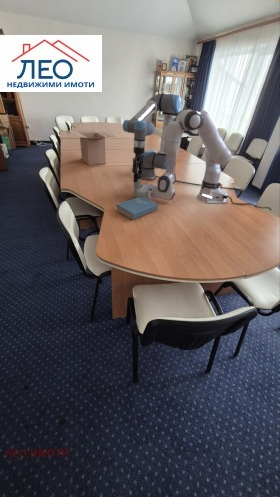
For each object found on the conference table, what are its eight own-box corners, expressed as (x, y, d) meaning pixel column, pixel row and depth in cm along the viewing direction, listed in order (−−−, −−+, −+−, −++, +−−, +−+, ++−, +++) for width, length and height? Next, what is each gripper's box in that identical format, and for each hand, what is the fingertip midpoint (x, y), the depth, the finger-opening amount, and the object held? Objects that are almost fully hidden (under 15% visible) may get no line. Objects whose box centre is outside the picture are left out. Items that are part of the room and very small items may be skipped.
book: (140, 202, 160) (141, 196, 157) (157, 210, 151) (157, 203, 148) (116, 211, 147) (116, 204, 144) (132, 220, 138) (133, 213, 135)
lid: (133, 179, 159) (134, 175, 157) (132, 176, 163) (133, 173, 162) (142, 179, 160) (142, 175, 158) (141, 176, 164) (141, 173, 163)
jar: (133, 197, 167) (134, 176, 158) (132, 194, 171) (133, 173, 162) (140, 197, 168) (141, 176, 159) (139, 194, 172) (140, 173, 163)
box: (116, 165, 229) (116, 136, 213) (83, 168, 214) (80, 137, 198) (102, 154, 259) (101, 128, 243) (71, 156, 244) (68, 129, 228)
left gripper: (140, 143, 157) (138, 176, 171) (127, 148, 143) (126, 183, 157) (149, 145, 155) (147, 178, 169) (138, 150, 141) (136, 185, 155)
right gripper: (158, 182, 168) (141, 179, 172) (148, 191, 153) (130, 187, 157) (157, 190, 172) (140, 187, 176) (147, 200, 157) (130, 196, 161)
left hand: (137, 180), depth 163 cm, fingers closed on lid, 6 cm apart
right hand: (135, 187), depth 166 cm, fingers closed on jar, 5 cm apart
